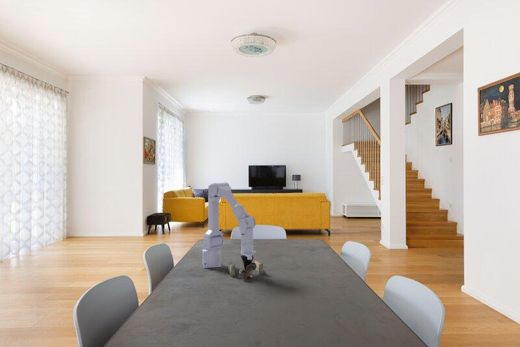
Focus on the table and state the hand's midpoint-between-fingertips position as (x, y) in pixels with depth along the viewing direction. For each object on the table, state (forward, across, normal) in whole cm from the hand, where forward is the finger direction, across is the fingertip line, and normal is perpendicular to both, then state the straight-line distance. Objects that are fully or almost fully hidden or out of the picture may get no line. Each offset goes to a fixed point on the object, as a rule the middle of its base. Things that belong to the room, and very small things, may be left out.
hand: (247, 271), depth 148 cm
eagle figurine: (+2, -4, 0) cm, 4 cm away
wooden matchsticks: (+2, +7, 0) cm, 7 cm away
